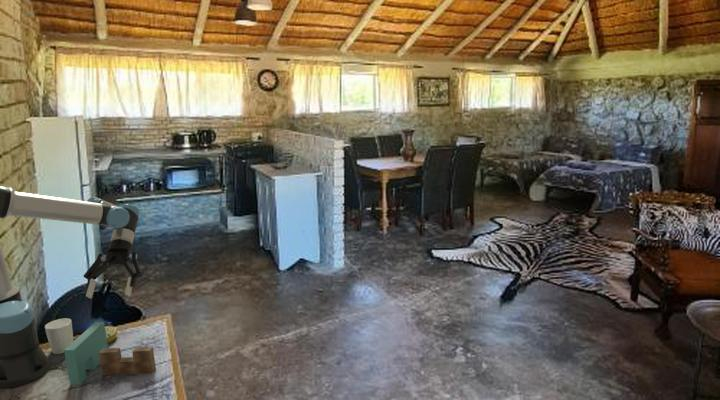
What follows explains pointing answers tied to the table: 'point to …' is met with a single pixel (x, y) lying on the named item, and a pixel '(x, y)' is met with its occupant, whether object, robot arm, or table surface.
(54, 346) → the white cup
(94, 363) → the teal upright panel
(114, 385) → the table surface
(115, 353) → the walnut slotted plate
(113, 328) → the decorated donut
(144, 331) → the table surface
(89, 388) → the table surface
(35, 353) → the robot arm
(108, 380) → the table surface
